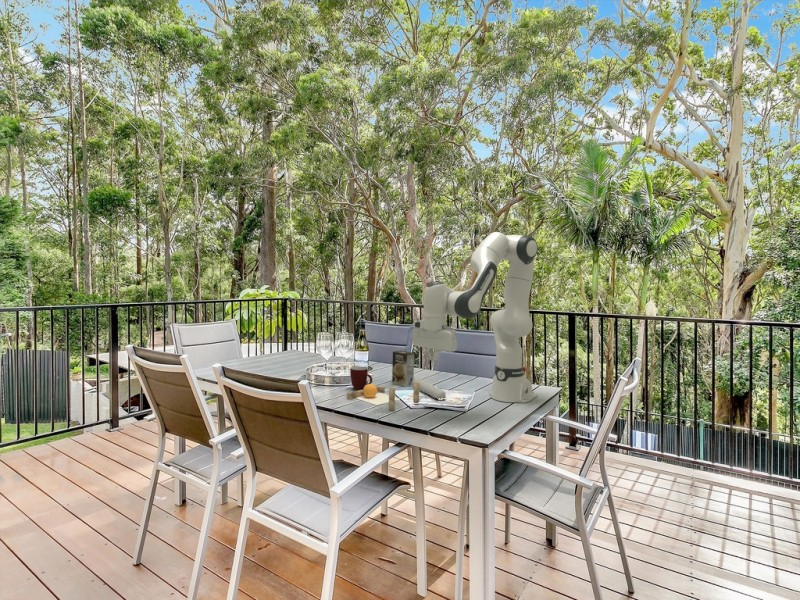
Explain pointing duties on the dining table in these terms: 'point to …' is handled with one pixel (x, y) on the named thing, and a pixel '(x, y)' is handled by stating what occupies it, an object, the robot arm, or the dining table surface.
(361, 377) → the mug
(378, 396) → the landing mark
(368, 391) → the ball
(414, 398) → the post
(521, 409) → the dining table surface
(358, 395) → the stopper wall
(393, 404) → the post
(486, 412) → the dining table surface
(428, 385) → the tube
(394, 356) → the coffee box
